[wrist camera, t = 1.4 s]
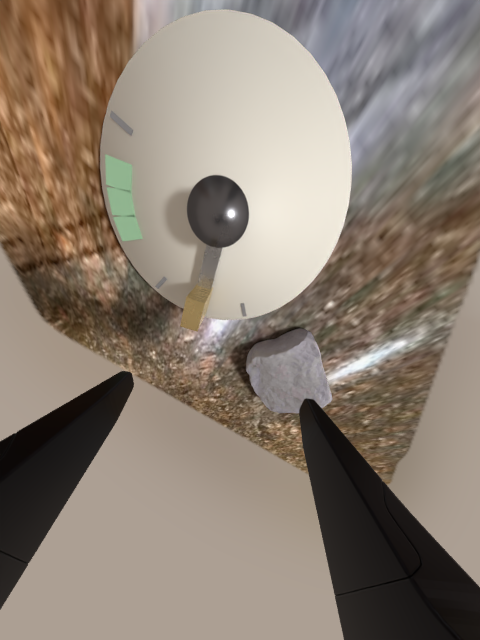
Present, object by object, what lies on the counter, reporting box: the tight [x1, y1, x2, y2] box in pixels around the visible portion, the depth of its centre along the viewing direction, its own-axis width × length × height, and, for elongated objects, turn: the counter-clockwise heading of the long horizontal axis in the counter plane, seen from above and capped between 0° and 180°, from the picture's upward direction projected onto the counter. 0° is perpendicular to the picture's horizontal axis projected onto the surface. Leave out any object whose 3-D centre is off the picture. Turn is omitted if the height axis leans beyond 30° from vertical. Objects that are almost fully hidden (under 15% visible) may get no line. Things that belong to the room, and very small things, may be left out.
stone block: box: [246, 328, 332, 413], centre depth 24 cm, size 12×5×10 cm
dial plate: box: [100, 10, 352, 320], centre depth 16 cm, size 21×21×1 cm
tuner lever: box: [180, 175, 249, 331], centre depth 15 cm, size 13×4×4 cm, turn 161°
